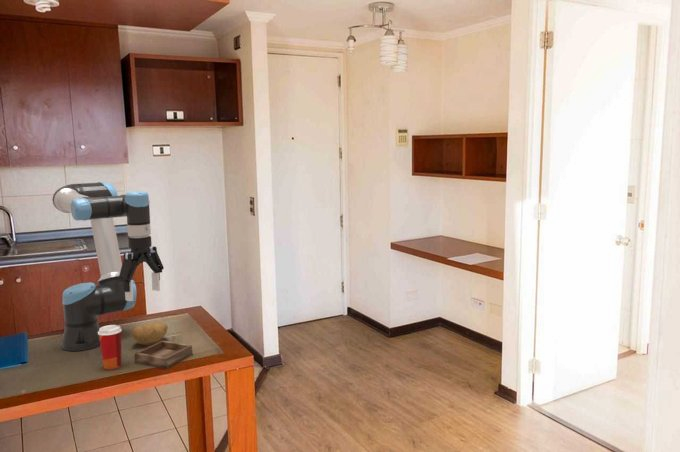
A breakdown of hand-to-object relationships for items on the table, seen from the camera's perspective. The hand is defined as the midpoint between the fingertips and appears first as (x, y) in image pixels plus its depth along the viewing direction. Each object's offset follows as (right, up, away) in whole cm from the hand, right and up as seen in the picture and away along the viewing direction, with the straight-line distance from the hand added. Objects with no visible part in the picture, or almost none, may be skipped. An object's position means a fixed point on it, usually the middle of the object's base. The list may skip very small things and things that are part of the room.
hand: (143, 295), depth 192 cm
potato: (-4, -22, +20) cm, 30 cm away
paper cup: (-10, -25, -2) cm, 27 cm away
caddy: (+6, -23, +4) cm, 25 cm away
